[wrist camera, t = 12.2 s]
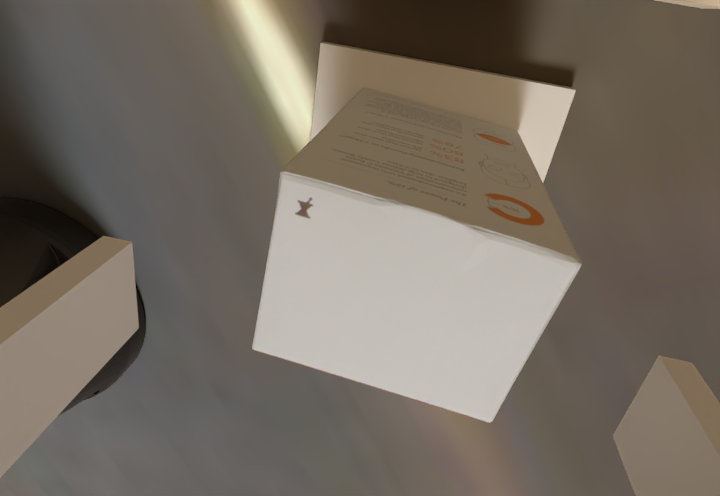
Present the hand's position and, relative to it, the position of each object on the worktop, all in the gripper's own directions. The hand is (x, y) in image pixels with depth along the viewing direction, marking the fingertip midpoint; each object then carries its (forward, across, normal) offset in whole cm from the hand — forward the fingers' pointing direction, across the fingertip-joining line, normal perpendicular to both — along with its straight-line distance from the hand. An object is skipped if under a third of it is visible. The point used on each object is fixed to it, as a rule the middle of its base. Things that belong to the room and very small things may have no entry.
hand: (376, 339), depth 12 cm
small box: (+15, 0, 0) cm, 15 cm away
